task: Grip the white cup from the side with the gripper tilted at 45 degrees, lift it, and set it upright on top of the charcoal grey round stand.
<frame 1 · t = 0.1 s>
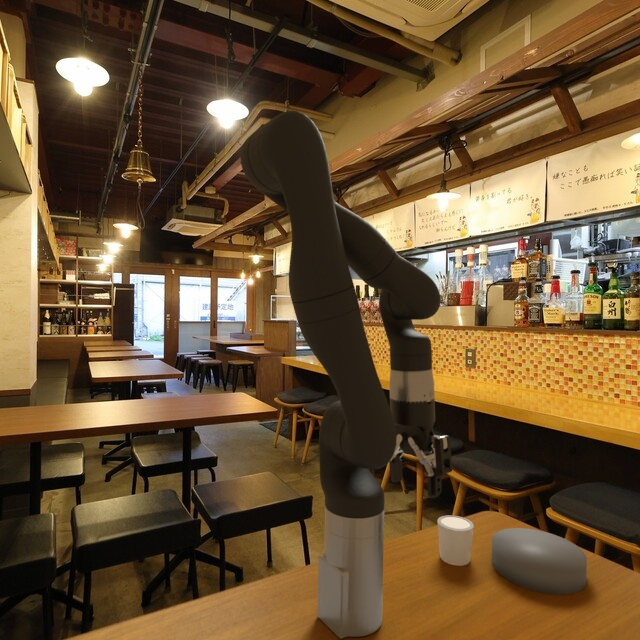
hand: (414, 488, 77), 17 cm above the table, tool pointing down, fingers open, 8 cm apart
white cup: (454, 559, 88), on the table
stand: (537, 568, 85), on the table
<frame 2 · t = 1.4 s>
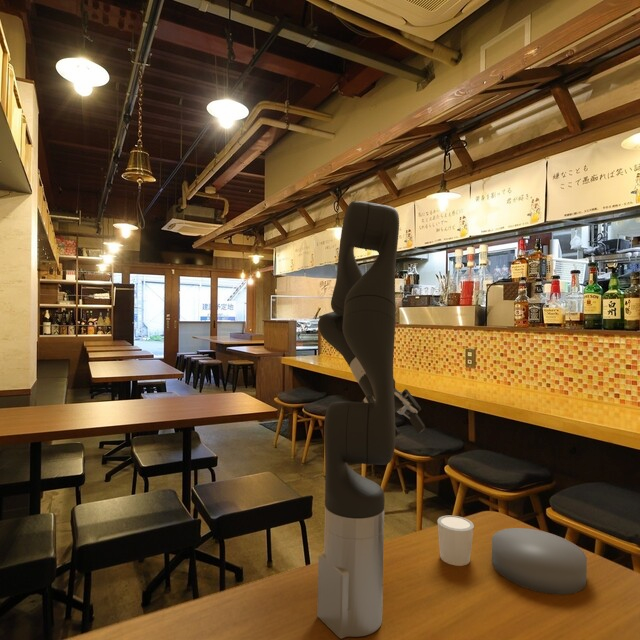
hand: (409, 433, 97), 22 cm above the table, tool tilted 45°, fingers open, 8 cm apart
nothing on the table moved.
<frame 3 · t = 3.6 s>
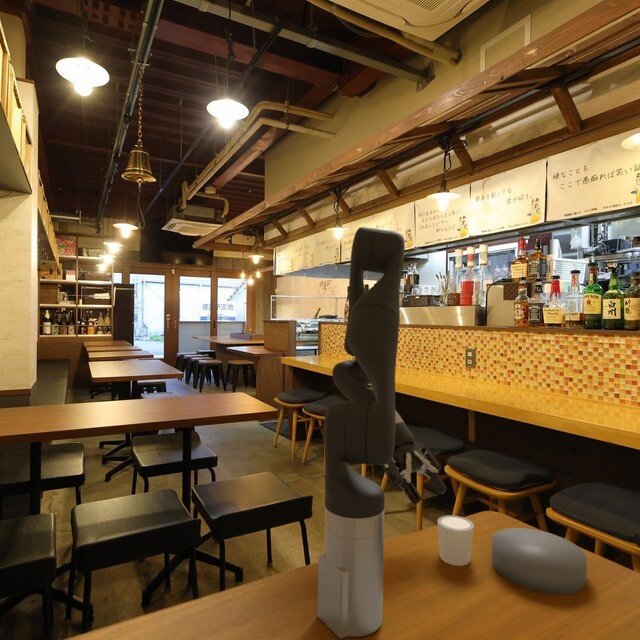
hand: (431, 497, 92), 10 cm above the table, tool tilted 45°, fingers open, 8 cm apart
nothing on the table moved.
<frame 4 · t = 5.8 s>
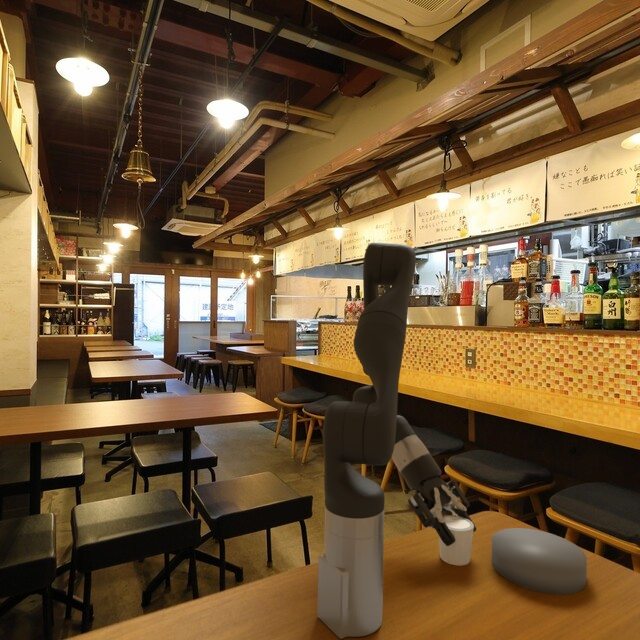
hand: (462, 538, 87), 4 cm above the table, tool tilted 45°, fingers closed on white cup, 7 cm apart
white cup: (454, 558, 88), on the table, touching gripper
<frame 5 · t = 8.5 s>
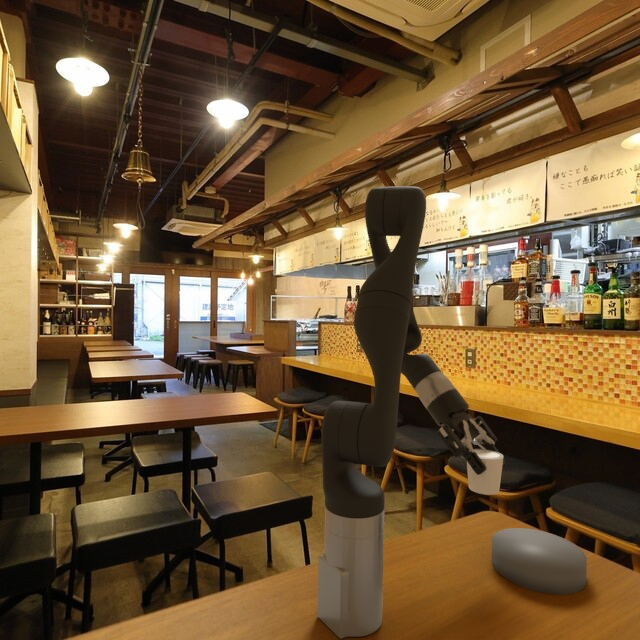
hand: (492, 468, 86), 18 cm above the table, tool tilted 45°, fingers closed on white cup, 7 cm apart
white cup: (483, 490, 87), point 14 cm above the table, touching gripper
when the fingers open (10 cm above the table, at t = 11.3 s): white cup drops 1 cm, resting on stand.
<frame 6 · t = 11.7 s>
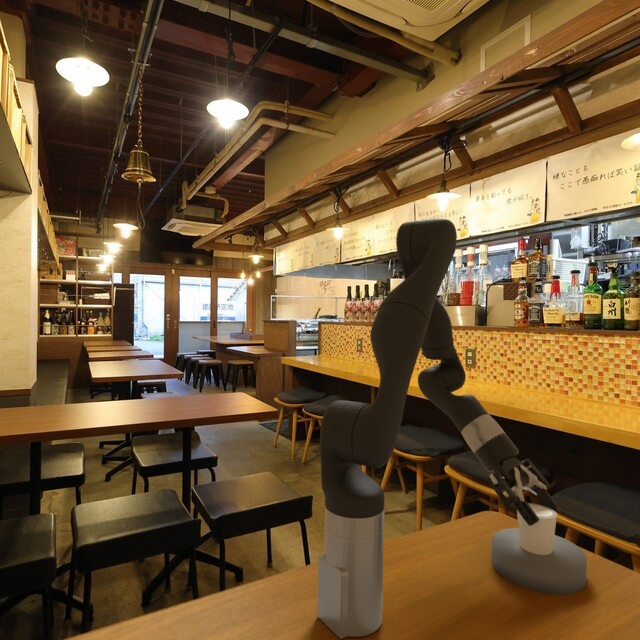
hand: (545, 517, 84), 10 cm above the table, tool tilted 45°, fingers open, 8 cm apart
white cup: (535, 548, 85), point 4 cm above the table, touching stand
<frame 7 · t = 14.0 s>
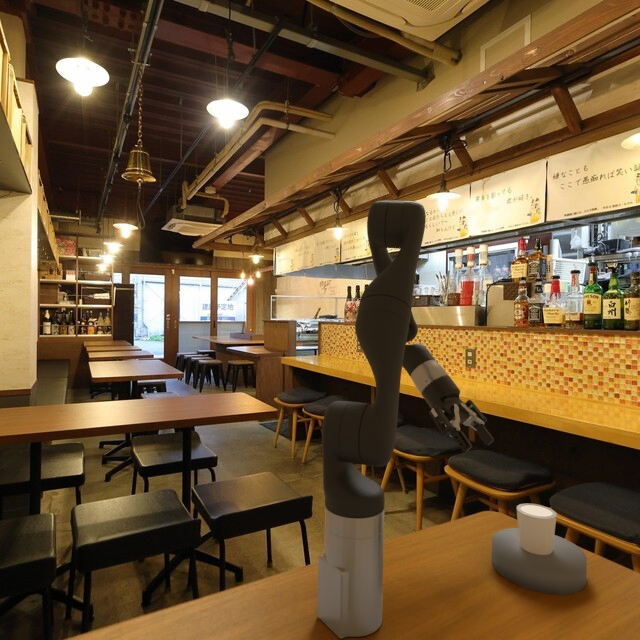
hand: (479, 446, 94), 20 cm above the table, tool tilted 45°, fingers open, 8 cm apart
nothing on the table moved.
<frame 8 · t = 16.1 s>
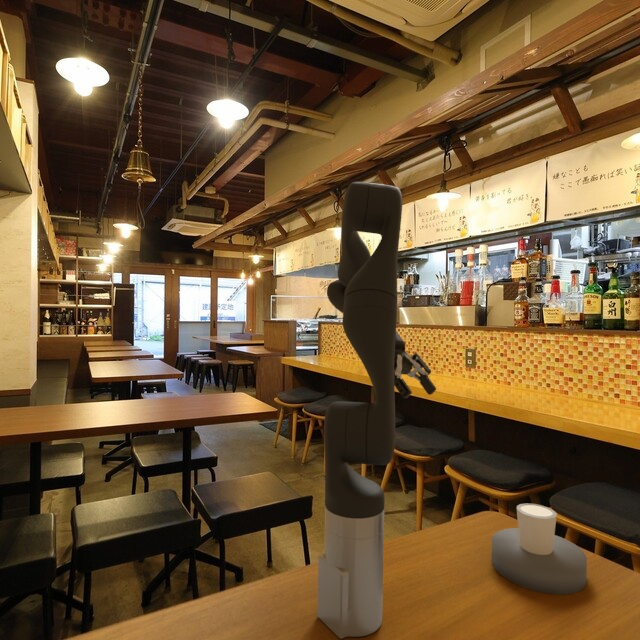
hand: (421, 394, 96), 31 cm above the table, tool tilted 45°, fingers open, 8 cm apart
nothing on the table moved.
at the end: white cup inside the target area on the stand (0.3 cm from its centre), point 3.8 cm above the stand's base; white cup tilted 0°; the gripper is holding nothing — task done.
